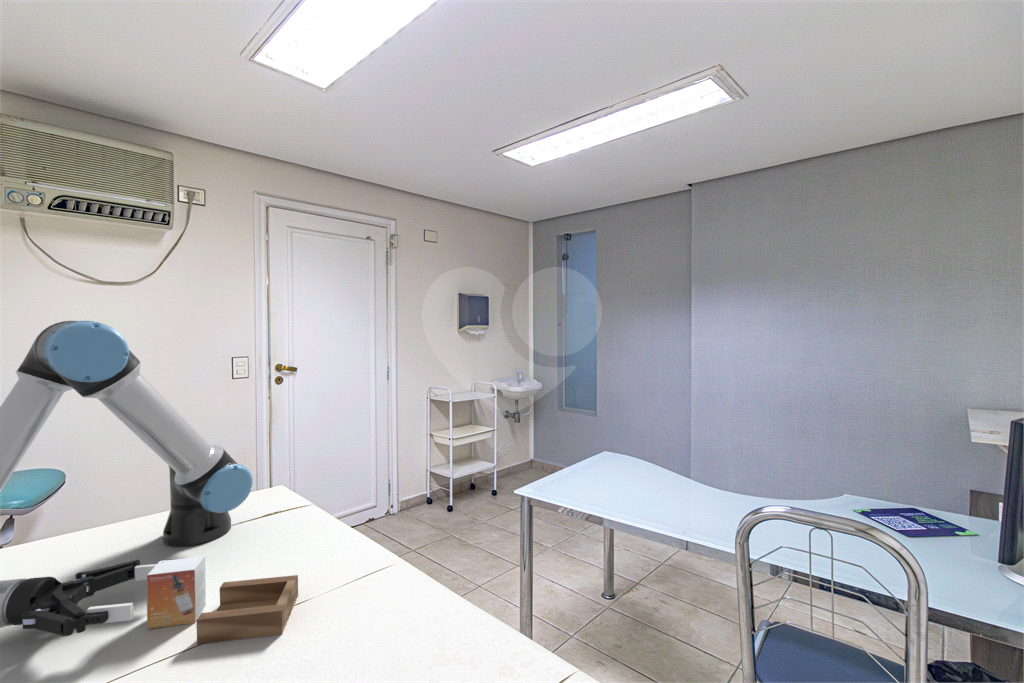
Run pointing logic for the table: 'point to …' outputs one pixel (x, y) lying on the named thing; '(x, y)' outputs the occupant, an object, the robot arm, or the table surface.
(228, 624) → the rack
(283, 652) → the table surface
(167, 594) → the small box
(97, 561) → the table surface
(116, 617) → the robot arm
